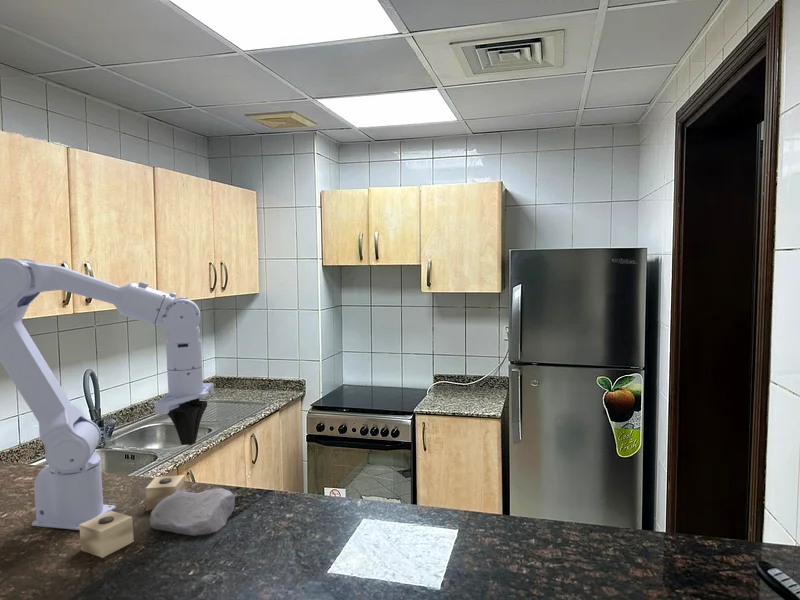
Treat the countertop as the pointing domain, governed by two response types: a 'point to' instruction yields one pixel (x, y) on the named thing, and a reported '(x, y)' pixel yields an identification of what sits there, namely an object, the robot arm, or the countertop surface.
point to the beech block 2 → (163, 489)
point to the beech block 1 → (106, 533)
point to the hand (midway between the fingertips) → (188, 443)
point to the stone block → (193, 512)
